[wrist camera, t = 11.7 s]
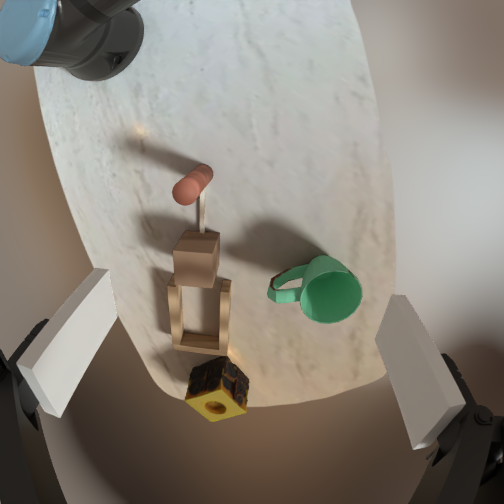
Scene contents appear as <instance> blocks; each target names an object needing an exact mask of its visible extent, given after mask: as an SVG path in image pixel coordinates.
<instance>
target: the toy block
mask: <svg viewBox="0 0 504 504" xmlns="http://www.w3.org/2000/svg"><path fill="white" fill-rule="evenodd" d="M248 390H249V379H248V378H247V377H246V376H245V375H244V373H243V372H242V371H241V370H240V369H239V368H238V367H237V366H236V365H234V364H232V362H231V361H230V359H229V358H228V356H222V357H220V358H216V359H214V360H211V361H209V362H206V363H204V364H202V365H200V366H197V367H194V368H193V369H192V372H191V374H190V379H189V385H188V388H187V393H186V397H185V400H184V401H186V402H187V403H188V404H189V405H190V406H192V407H193V408H194V409H195V410H197V411H198V412H199V413H200V414H202V415H203V416H204V417H206V418H207V419H208V420H209V421H211V422H214V421H218V420H221V419H225V418H229V417H232V416H236V415H240V414H244V413H246V412H247V401H248V400H247V394H248Z"/></svg>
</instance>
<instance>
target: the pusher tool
mask: <svg viewBox="0 0 504 504" xmlns="http://www.w3.org/2000/svg"><path fill="white" fill-rule="evenodd" d="M212 178H213V171H212V169H211V167H210V166H208V165H205V164H201V165H199V166H197V167H196V168H195V169H193V170H192V171H191V172H190V173H188V174H187V175H186V176H185V177H184V178H182V179H181V180H180V181H179V182H177V183H176V184H175V186H174V187H173V191H172V194H173V198H174V199H175V201H176V202H177V203H179V204H181V205H190V204H192V203H193V202H194V201H195V200H196V199H197V197H198V196H199V195H200V232H199V231H185V232H184V234H183V235H182V237H181V239H180V240H179V242H178V243H177V245H176V246H175V248H174V250H173V261H174V277H175V285H181V286H191V287H202V288H213V284H214V281H215V277H216V274H217V270H218V267H219V251H220V233H213V232H205V187H206V186H207V185H208V183H209V182H210V181H211V180H212Z"/></svg>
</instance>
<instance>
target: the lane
mask: <svg viewBox="0 0 504 504" xmlns="http://www.w3.org/2000/svg"><path fill="white" fill-rule="evenodd" d="M167 291H168V303H169V314H170V324H171V333H172V342H173V349H174V350H181V351H188V352H195V353H203V354H212V355H221V356H227V350H228V343H229V321H230V300H231V281H229V280H223V283H222V287H221V291H220V331H219V337H216V336H207V335H199V334H191V333H184V325H183V310H182V292H181V285H175V277H174V275H173V276H172V278H171V280H170V282H169V284H168V285H167Z"/></svg>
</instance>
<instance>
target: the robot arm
mask: <svg viewBox="0 0 504 504" xmlns="http://www.w3.org/2000/svg"><path fill="white" fill-rule="evenodd" d="M138 1H140V0H5V2H4V4H3V6H2V8H1V10H0V58H1V59H2V60H4V61H6V62H8V63H13V64H19V65H21V66H48V67H63V68H65V69H66V70H67V71H69V72H70V73H71V74H72V75H73V76H75V77H77V78H79V79H82V80H86V81H102V80H106V79H109V78H111V77H113V76H115V75H117V74H118V73H120V72H121V71H123V70H124V69H125V68H126V67H127V66H128V65H129V64H130V63H131V62H132V60H133V59H134V58H135V56H136V55H137V53H138V51H139V49H140V47H141V44H142V41H143V36H144V24H143V20H142V18H141V16H140V14H139V13H138V11H137V10H136V9H134V8H133V7H132V5H134V4H135V3H137V2H138ZM117 317H118V316H117V311H116V306H115V301H114V296H113V290H112V285H111V279H110V273H109V269H101V268H95V269H94V270H93V271H92V272H91V273H90V274H89V275H88V276H87V277H86V279H85V280H84V281H83V282H82V283H81V284H80V285H79V286H78V287H77V289H76V290H75V291H74V292H73V293H72V294H71V295H70V297H69V298H68V299H67V300H66V301H65V302H64V303H63V305H62V306H61V307H60V308H59V309H58V311H57V312H56V313H55V314H54V315H53V317H52V318H51V319H50V320H49V319H44V320H43V321H41V322H40V323H38V324H37V325H36V326H35V327H34V328H33V329H32V331H31V332H30V334H29V335H28V336H27V337H26V338H25V341H23V342H22V343H21V344H20V346H19V347H18V348H17V349H16V351H15V352H14V353H13V355H12V356H11V357H10V358H9V360H8V361H7V360H6V358H5V356H4V354H3V352H2V350H1V349H0V501H1V504H67V502H66V500H65V497H64V495H63V492H62V490H61V487H60V485H59V482H58V479H57V476H56V473H55V470H54V467H53V464H52V462H51V458H50V455H49V452H48V448H47V445H46V441H45V437H44V434H43V430H42V426H41V422H40V417H39V414H38V411H37V409H36V408H37V406H38V404H39V403H40V405H41V406H42V408H43V409H44V411H45V412H47V413H49V414H52V415H54V416H56V417H59V418H60V417H61V415H62V413H63V411H64V409H65V407H66V406H67V403H68V402H69V400H70V398H71V396H72V394H73V392H74V391H75V389H76V387H77V385H78V383H79V381H80V380H81V378H82V376H83V374H84V372H85V370H86V369H87V367H88V365H89V364H90V362H91V360H92V358H93V357H94V355H95V353H96V351H97V350H98V348H99V346H100V345H101V343H102V341H103V340H104V338H105V336H106V335H107V333H108V331H109V330H110V328H111V326H112V325H113V323H114V322H115V320H116V318H117ZM375 341H376V344H377V346H378V349H379V352H380V354H381V357H382V359H383V362H384V365H385V367H386V370H387V373H388V376H389V378H390V381H391V384H392V387H393V390H394V392H395V395H396V398H397V401H398V404H399V407H400V410H401V413H402V416H403V419H404V422H405V425H406V428H407V432H408V435H409V438H410V441H411V445H412V448H413V450H414V449H418V448H423V447H428V446H430V445H431V444H432V443H433V442H434V440H435V439H436V438H437V440H438V443H439V445H438V446H437V447H436V448H435V449H434V450H433V451H432V452H431V453H430V454H429V455H428V456H427V457H426V459H427V460H428V459H429V458H430V457H431V456H432V458H431V460H430V462H429V464H428V466H427V468H426V471H425V473H424V475H423V477H422V479H421V481H420V483H419V485H418V486H417V488H416V490H415V492H414V494H413V496H412V498H411V500H410V502H409V503H408V504H504V417H503V416H494V415H493V413H492V412H491V411H490V410H489V409H488V408H487V407H485V406H482V405H477V404H476V402H475V400H474V398H473V396H472V394H471V392H470V390H469V388H468V387H467V385H466V383H465V381H464V379H462V375H461V373H460V372H459V370H458V368H457V366H456V365H455V363H454V361H453V360H452V359H451V358H450V357H449V356H447V354H440V352H439V351H438V349H437V347H436V345H435V343H434V342H433V340H432V338H431V337H430V335H429V333H428V332H427V330H426V328H425V326H424V325H423V323H422V322H421V320H420V319H419V316H418V315H417V313H416V312H415V310H414V308H413V307H412V305H411V304H410V302H409V301H408V299H407V297H406V296H405V295H391V297H390V300H389V303H388V306H387V309H386V311H385V314H384V317H383V320H382V322H381V325H380V327H379V330H378V332H377V335H376V337H375ZM502 456H503V462H502V463H500V457H502Z"/></svg>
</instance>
